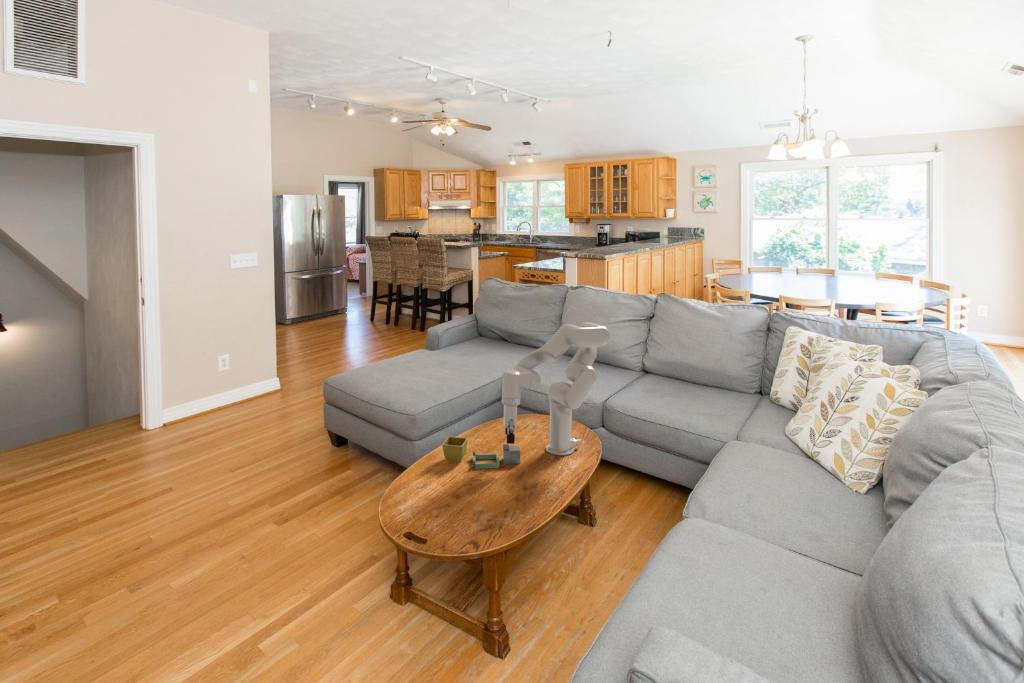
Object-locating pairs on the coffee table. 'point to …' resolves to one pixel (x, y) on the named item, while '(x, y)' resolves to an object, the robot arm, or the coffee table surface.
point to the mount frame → (486, 456)
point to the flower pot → (454, 449)
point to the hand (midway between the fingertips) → (509, 438)
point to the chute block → (511, 454)
